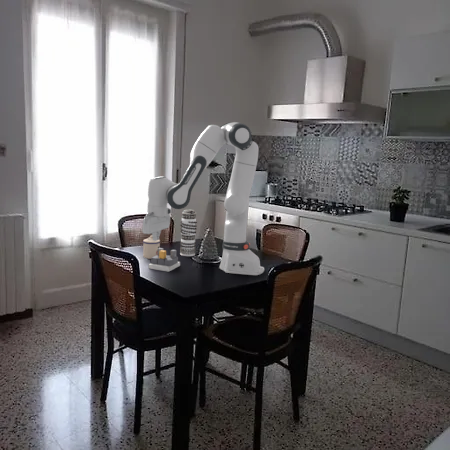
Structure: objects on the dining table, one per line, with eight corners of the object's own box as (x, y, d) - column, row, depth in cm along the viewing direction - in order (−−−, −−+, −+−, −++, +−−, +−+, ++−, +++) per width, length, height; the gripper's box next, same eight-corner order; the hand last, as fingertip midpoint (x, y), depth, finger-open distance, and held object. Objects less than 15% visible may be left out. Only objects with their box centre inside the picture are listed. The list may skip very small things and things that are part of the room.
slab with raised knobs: (179, 265, 222) (180, 249, 220) (168, 271, 211) (169, 254, 209) (160, 262, 226) (160, 246, 224) (148, 268, 215) (148, 251, 213)
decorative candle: (197, 252, 250) (198, 209, 245) (194, 256, 240) (196, 211, 236) (181, 251, 250) (182, 208, 246) (178, 255, 241) (179, 210, 237)
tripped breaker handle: (166, 257, 216) (166, 250, 215) (163, 258, 214) (163, 251, 213) (161, 256, 217) (161, 250, 216) (159, 258, 214) (159, 251, 214)
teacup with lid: (159, 259, 232) (160, 237, 230) (142, 259, 231) (142, 237, 229) (159, 253, 244) (160, 233, 242) (143, 253, 243) (143, 232, 241)
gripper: (151, 214, 194) (150, 245, 197) (172, 209, 213) (171, 237, 216) (139, 213, 197) (138, 243, 199) (161, 208, 215) (160, 235, 218)
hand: (155, 240), depth 208 cm, fingers closed
